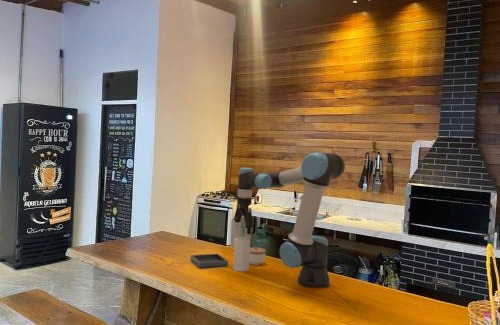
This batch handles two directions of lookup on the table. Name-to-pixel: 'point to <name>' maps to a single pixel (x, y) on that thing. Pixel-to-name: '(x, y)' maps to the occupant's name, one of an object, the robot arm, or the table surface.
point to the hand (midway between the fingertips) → (242, 237)
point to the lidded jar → (256, 256)
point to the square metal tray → (209, 261)
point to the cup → (241, 254)
